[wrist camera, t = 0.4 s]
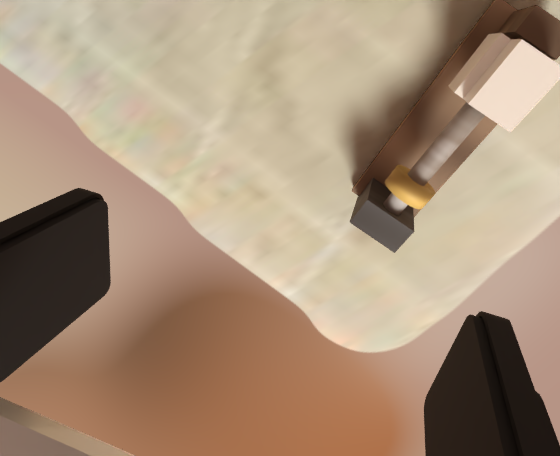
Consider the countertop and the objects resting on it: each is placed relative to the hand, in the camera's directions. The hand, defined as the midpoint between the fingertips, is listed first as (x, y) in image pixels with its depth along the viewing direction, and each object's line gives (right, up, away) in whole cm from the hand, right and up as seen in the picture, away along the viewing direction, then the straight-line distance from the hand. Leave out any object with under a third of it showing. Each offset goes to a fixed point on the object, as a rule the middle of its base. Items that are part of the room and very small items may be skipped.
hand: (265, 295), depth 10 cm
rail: (+14, +10, +24) cm, 30 cm away
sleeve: (+16, +12, +18) cm, 27 cm away
